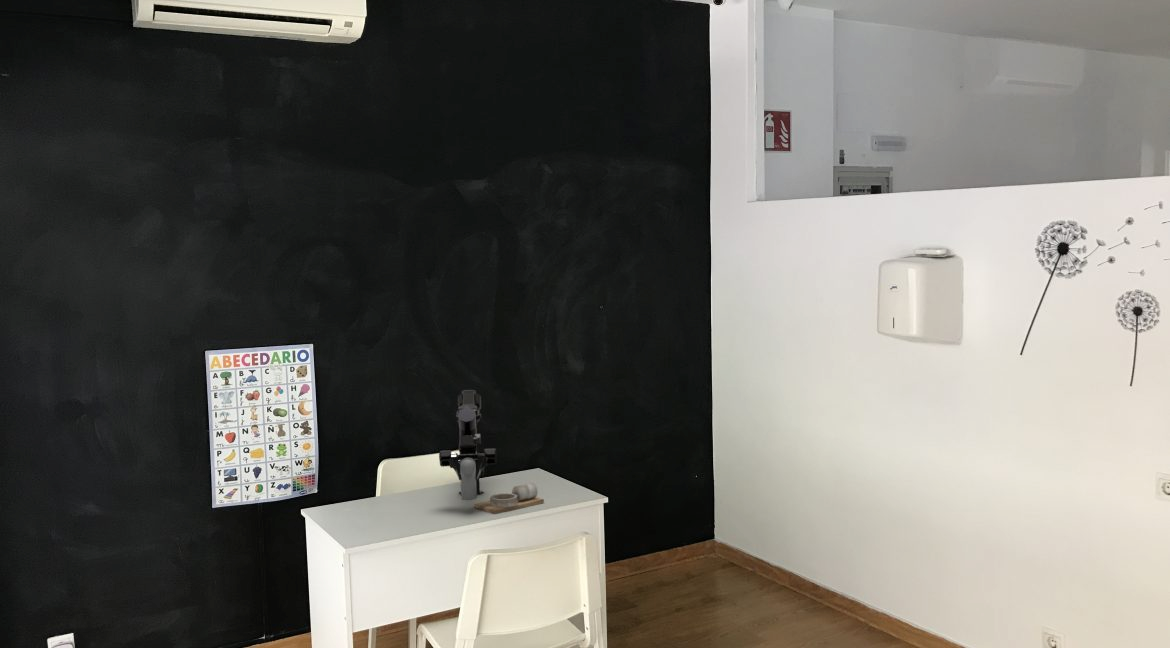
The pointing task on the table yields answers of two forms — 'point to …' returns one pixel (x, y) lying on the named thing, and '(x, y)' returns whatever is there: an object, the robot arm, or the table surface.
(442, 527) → the table surface
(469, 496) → the elbow
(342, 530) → the table surface
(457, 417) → the robot arm
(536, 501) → the board
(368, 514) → the table surface
